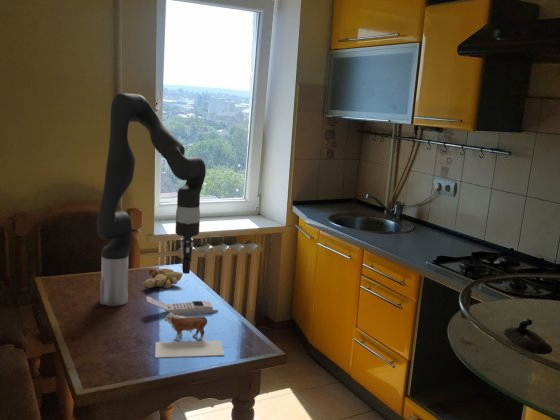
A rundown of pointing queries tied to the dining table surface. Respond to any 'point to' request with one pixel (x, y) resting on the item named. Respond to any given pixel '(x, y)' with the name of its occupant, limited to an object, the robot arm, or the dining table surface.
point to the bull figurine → (186, 324)
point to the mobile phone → (184, 307)
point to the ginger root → (162, 278)
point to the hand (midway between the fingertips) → (185, 271)
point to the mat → (188, 349)
